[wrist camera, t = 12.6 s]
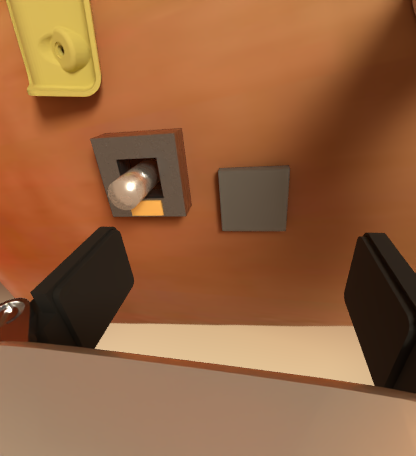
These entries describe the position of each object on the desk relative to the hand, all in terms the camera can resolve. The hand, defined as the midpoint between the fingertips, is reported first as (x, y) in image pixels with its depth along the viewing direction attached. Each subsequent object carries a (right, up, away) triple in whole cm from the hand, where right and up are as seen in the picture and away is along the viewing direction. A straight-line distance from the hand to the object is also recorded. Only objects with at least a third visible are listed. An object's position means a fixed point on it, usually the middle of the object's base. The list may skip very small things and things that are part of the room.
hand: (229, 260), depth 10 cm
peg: (-10, +10, +30) cm, 34 cm away
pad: (+6, +6, +30) cm, 31 cm away
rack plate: (-10, +10, +30) cm, 34 cm away
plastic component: (-19, +29, +22) cm, 41 cm away
